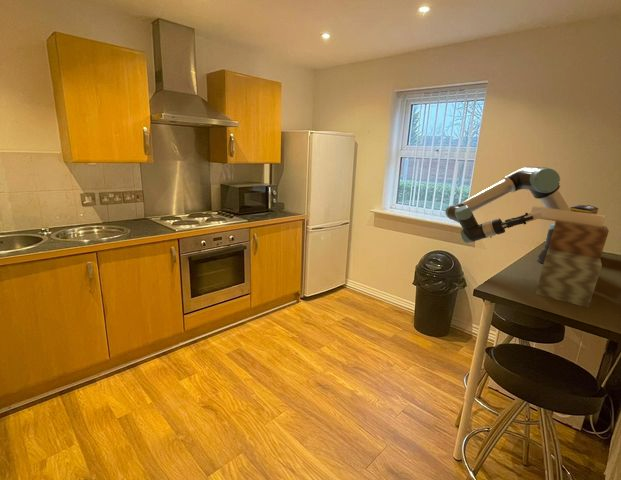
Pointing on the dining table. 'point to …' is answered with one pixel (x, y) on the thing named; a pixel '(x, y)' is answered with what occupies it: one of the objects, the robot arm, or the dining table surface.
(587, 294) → the two-tone wood block
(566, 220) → the white long bar
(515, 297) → the dining table surface
